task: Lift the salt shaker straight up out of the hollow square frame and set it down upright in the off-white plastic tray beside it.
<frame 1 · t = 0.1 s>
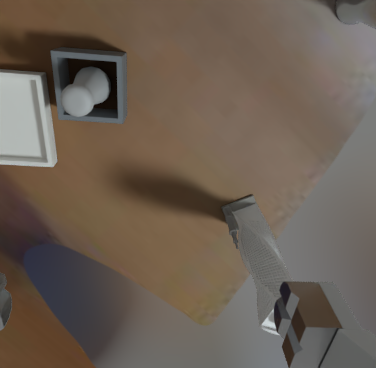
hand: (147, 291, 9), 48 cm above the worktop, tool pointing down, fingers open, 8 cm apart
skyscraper: (246, 213, 67), on the worktop
salt shaker: (96, 82, 52), resting in hollow square frame
tray: (4, 116, 54), on the worktop
hollow square frame: (96, 82, 52), on the worktop
beer glass: (354, 2, 48), on the worktop
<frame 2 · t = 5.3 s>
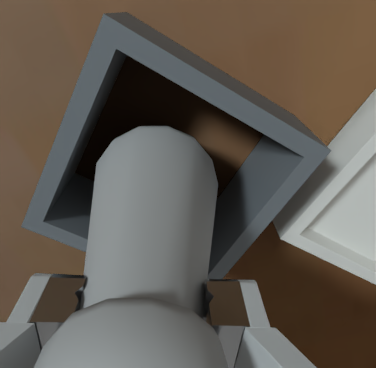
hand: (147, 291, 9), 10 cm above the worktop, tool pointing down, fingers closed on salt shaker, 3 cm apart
salt shaker: (158, 162, 17), point 1 cm above the worktop, touching gripper
hollow square frame: (170, 147, 18), on the worktop
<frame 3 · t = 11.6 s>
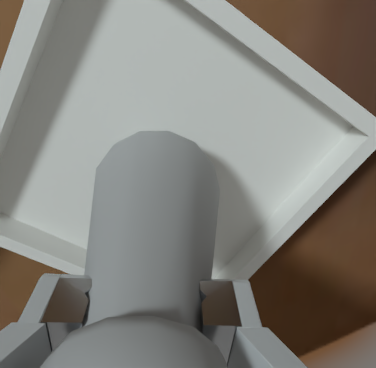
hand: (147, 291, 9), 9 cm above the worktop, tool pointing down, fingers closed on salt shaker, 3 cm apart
salt shaker: (159, 166, 17), point 1 cm above the worktop, touching gripper, tray
tray: (160, 159, 18), on the worktop
when the fingers open (9 cm above the worktop, at t = 11.7 s): salt shaker stays where it is, resting on tray.
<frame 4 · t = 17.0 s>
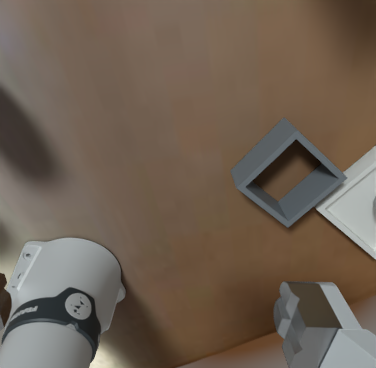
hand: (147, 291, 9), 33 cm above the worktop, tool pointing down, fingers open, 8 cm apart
hollow square frame: (280, 166, 45), on the worktop
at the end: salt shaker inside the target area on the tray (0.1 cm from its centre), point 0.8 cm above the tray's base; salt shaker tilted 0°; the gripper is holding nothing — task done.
